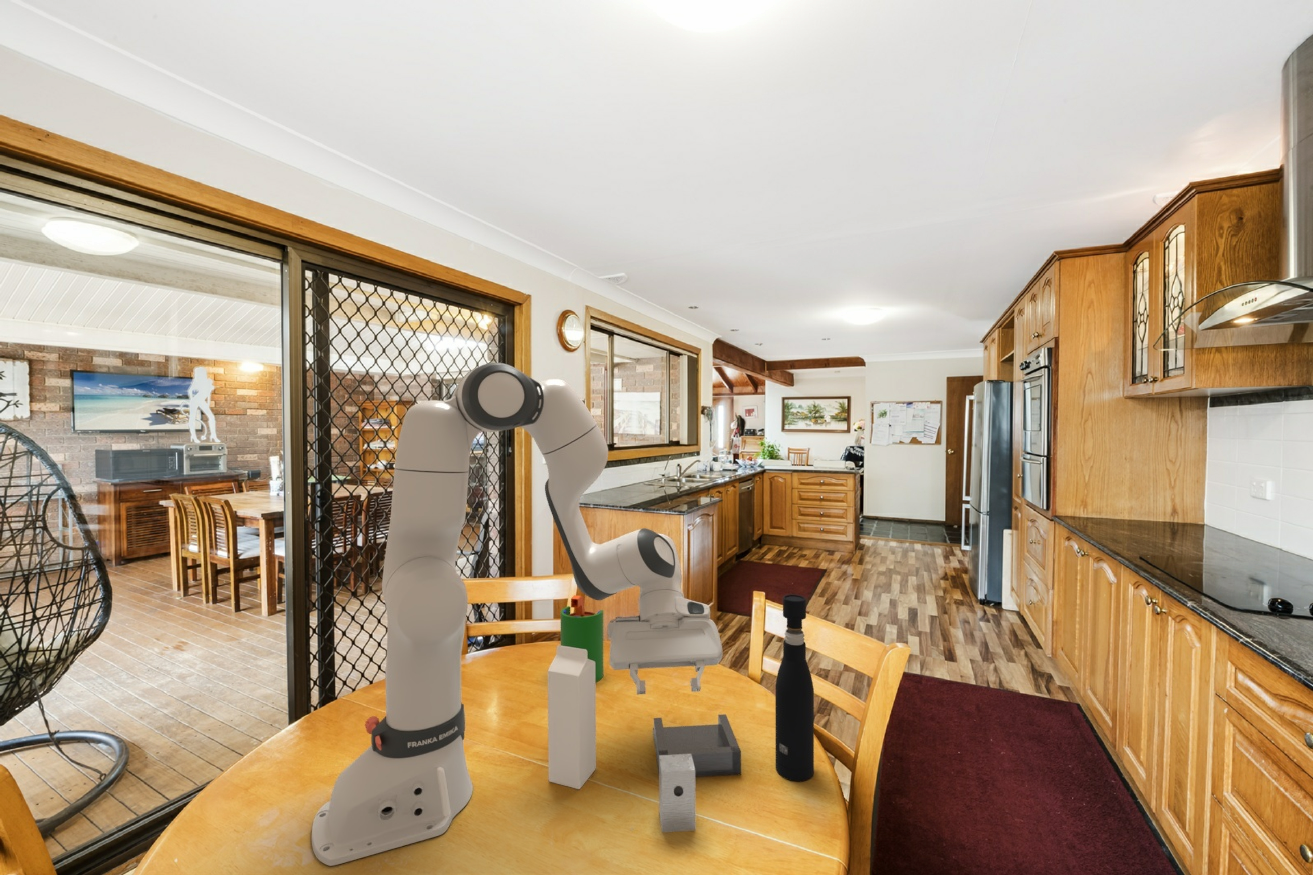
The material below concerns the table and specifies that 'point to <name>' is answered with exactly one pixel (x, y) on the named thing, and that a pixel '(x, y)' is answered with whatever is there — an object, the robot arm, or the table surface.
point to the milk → (571, 717)
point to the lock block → (677, 793)
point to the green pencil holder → (584, 632)
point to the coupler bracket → (701, 746)
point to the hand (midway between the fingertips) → (668, 691)
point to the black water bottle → (794, 699)
